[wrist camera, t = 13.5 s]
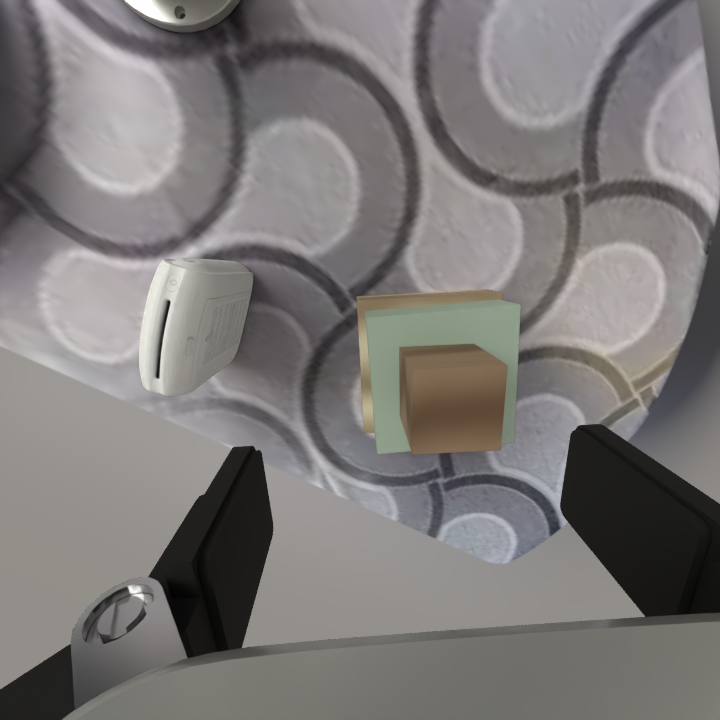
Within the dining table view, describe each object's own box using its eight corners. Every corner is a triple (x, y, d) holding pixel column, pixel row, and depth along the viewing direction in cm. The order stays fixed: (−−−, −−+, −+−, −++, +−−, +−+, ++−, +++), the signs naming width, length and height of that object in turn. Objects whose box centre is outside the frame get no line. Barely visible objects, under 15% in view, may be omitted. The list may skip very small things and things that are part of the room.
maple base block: (356, 295, 34) (356, 300, 30) (484, 288, 34) (503, 292, 30) (362, 413, 38) (364, 433, 33) (478, 407, 38) (495, 425, 33)
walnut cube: (399, 346, 27) (412, 369, 21) (474, 343, 27) (507, 365, 21) (399, 416, 28) (412, 454, 23) (470, 412, 29) (500, 450, 23)
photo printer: (216, 253, 32) (136, 247, 21) (259, 267, 33) (206, 269, 21) (197, 352, 35) (116, 397, 23) (237, 364, 36) (179, 414, 24)
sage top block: (364, 311, 30) (366, 317, 26) (499, 299, 30) (520, 304, 26) (374, 432, 33) (377, 454, 30) (495, 421, 33) (514, 442, 29)
